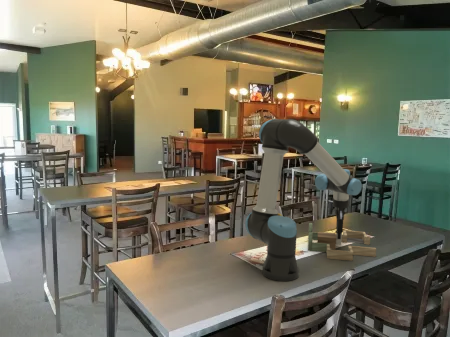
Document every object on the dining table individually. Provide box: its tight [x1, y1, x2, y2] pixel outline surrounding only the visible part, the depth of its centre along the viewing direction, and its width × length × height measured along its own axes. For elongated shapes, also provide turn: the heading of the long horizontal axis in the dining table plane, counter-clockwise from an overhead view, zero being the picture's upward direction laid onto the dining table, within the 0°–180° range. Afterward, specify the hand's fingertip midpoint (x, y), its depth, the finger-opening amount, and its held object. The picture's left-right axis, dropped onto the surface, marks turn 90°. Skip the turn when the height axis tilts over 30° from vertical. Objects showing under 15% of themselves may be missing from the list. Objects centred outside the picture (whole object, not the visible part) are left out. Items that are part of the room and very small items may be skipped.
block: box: [316, 231, 337, 250], centre depth 186 cm, size 9×9×6 cm
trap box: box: [307, 222, 377, 262], centre depth 183 cm, size 36×32×9 cm
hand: (338, 244), depth 184 cm, fingers closed
